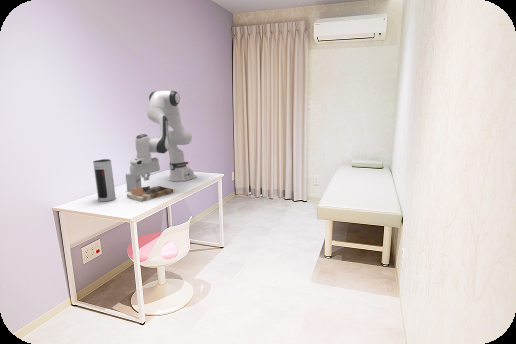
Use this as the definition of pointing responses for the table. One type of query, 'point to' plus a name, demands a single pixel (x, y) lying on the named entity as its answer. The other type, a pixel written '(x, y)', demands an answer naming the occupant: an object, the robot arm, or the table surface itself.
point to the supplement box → (133, 182)
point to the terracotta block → (137, 191)
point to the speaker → (104, 180)
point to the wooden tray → (151, 193)
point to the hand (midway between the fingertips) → (146, 180)
